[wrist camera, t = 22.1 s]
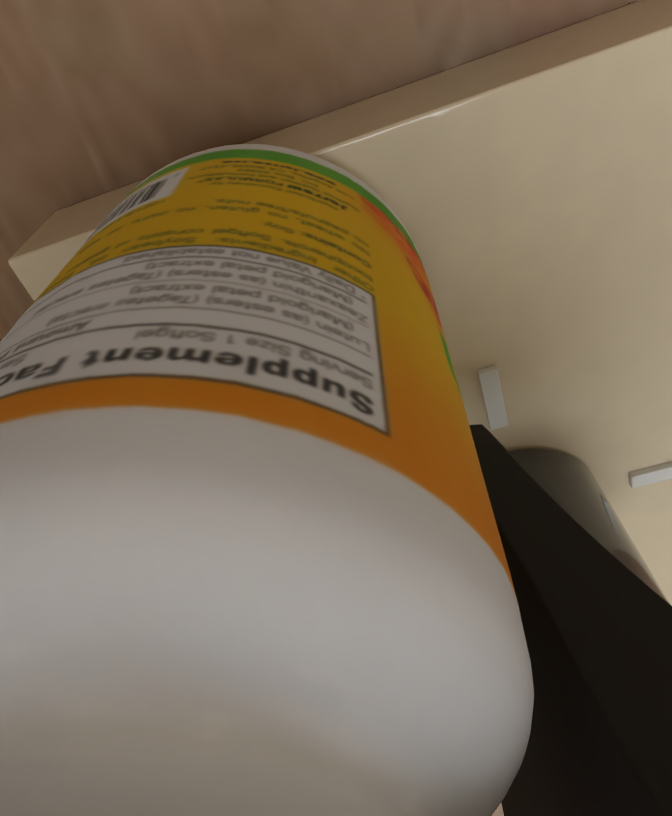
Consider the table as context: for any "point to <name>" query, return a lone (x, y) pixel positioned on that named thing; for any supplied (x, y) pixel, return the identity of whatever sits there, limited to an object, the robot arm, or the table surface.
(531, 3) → the table surface
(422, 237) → the beige flat block
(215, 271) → the supplement bottle
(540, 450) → the knob
